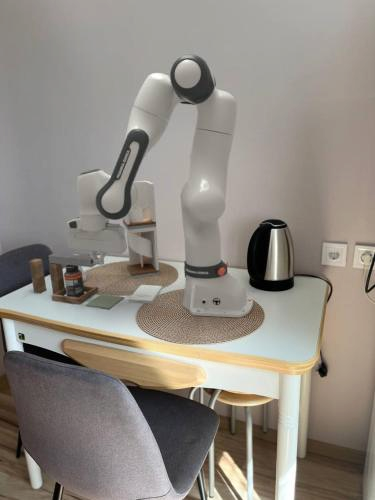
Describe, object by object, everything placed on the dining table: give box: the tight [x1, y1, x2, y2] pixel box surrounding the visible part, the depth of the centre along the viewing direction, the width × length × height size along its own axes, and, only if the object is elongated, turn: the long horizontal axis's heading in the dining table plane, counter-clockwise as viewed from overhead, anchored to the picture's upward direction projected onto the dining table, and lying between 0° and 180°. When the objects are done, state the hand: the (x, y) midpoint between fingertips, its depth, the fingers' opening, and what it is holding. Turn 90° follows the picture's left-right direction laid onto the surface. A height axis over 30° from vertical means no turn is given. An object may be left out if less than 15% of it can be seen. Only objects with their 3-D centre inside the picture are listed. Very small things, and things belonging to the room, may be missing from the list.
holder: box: [28, 258, 100, 306], centre depth 137 cm, size 22×11×12 cm, turn 68°
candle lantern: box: [122, 180, 160, 280], centre depth 152 cm, size 11×11×35 cm
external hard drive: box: [127, 284, 163, 304], centre depth 135 cm, size 2×8×12 cm
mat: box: [85, 293, 125, 310], centre depth 131 cm, size 9×9×1 cm
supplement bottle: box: [63, 265, 86, 298], centre depth 135 cm, size 6×6×11 cm
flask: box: [73, 253, 88, 283], centre depth 150 cm, size 7×7×10 cm
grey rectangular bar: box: [48, 252, 98, 268], centre depth 133 cm, size 17×3×2 cm, turn 68°
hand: (99, 263), depth 129 cm, fingers closed
